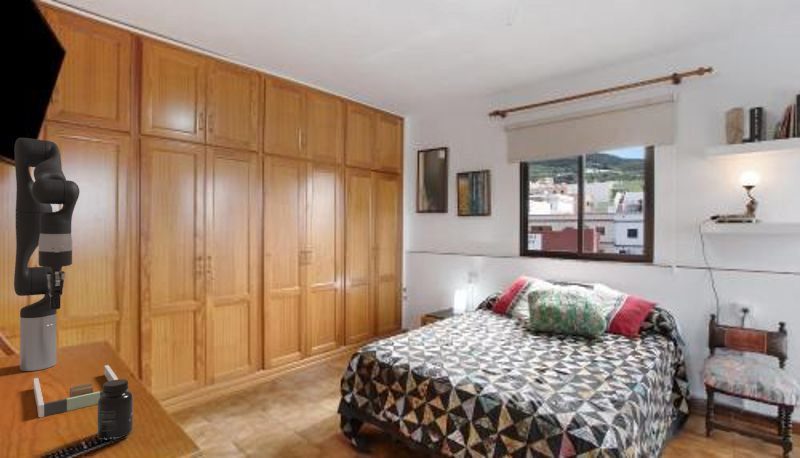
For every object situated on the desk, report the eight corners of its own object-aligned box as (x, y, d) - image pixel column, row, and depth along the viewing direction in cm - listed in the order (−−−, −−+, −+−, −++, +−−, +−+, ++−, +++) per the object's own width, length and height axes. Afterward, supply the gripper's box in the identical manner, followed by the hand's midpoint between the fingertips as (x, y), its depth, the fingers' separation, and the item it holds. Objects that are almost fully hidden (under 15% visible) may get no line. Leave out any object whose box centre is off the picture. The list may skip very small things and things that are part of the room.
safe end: (66, 409, 109) (66, 398, 109) (99, 402, 114) (99, 391, 114) (66, 411, 108) (66, 399, 108) (99, 403, 113) (100, 392, 113)
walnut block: (69, 403, 114) (69, 386, 113) (90, 398, 117) (90, 382, 117) (71, 408, 110) (71, 391, 110) (92, 403, 113) (93, 387, 113)
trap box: (33, 388, 122) (33, 378, 122) (108, 374, 135) (108, 364, 134) (38, 417, 105) (38, 405, 105) (123, 397, 117) (124, 387, 117)
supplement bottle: (139, 431, 99) (139, 380, 99) (109, 444, 93) (109, 390, 93) (121, 424, 102) (121, 375, 102) (90, 437, 96) (90, 385, 96)
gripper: (36, 247, 123) (36, 306, 124) (40, 251, 114) (40, 315, 114) (69, 246, 129) (68, 303, 129) (75, 250, 119) (74, 311, 120)
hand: (55, 308), depth 122 cm, fingers closed
